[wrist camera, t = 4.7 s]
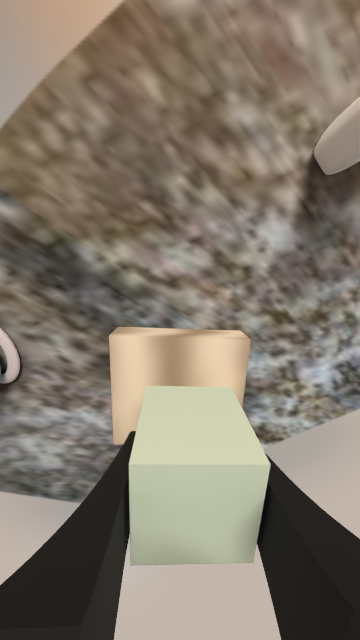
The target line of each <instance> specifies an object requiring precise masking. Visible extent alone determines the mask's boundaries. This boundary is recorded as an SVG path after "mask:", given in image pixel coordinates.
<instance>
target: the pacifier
mask: <svg viewBox="0 0 360 640" xmlns="http://www.w3.org/2000/svg"><path fill="white" fill-rule="evenodd" d="M0 345H1V347H2V349H3V351H4V352H5V355H6V358H7V364H8V367H7V371H6V373H5V374H1V367H0V383H3V384H4V383H10V382H12V381H13V380H15V379H16V378H17V376H18V375H19V371H20V358H19V355H18V351H17V349H16V347H15V345H14V343H13V342H12V340H11V339H10V338H9V336H8V335H7V334H6V333H5V332H4V331H3V330H2V329H1V328H0Z"/></svg>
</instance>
